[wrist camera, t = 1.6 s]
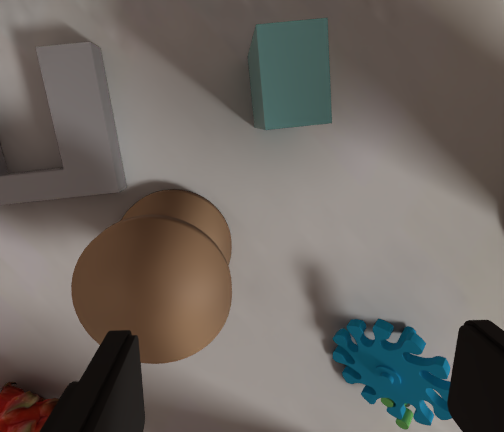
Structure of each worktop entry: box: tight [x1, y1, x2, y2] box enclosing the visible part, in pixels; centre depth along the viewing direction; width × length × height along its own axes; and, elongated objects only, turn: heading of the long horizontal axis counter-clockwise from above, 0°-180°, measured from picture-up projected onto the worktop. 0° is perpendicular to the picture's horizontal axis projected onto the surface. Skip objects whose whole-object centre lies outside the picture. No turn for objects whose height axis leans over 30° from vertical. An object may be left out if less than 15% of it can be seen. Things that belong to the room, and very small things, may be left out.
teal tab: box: [248, 18, 332, 130], centre depth 23 cm, size 4×5×9 cm
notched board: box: [0, 42, 127, 205], centre depth 26 cm, size 12×10×2 cm
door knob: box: [71, 189, 232, 364], centre depth 25 cm, size 9×9×9 cm
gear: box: [333, 319, 452, 429], centre depth 31 cm, size 11×6×10 cm
